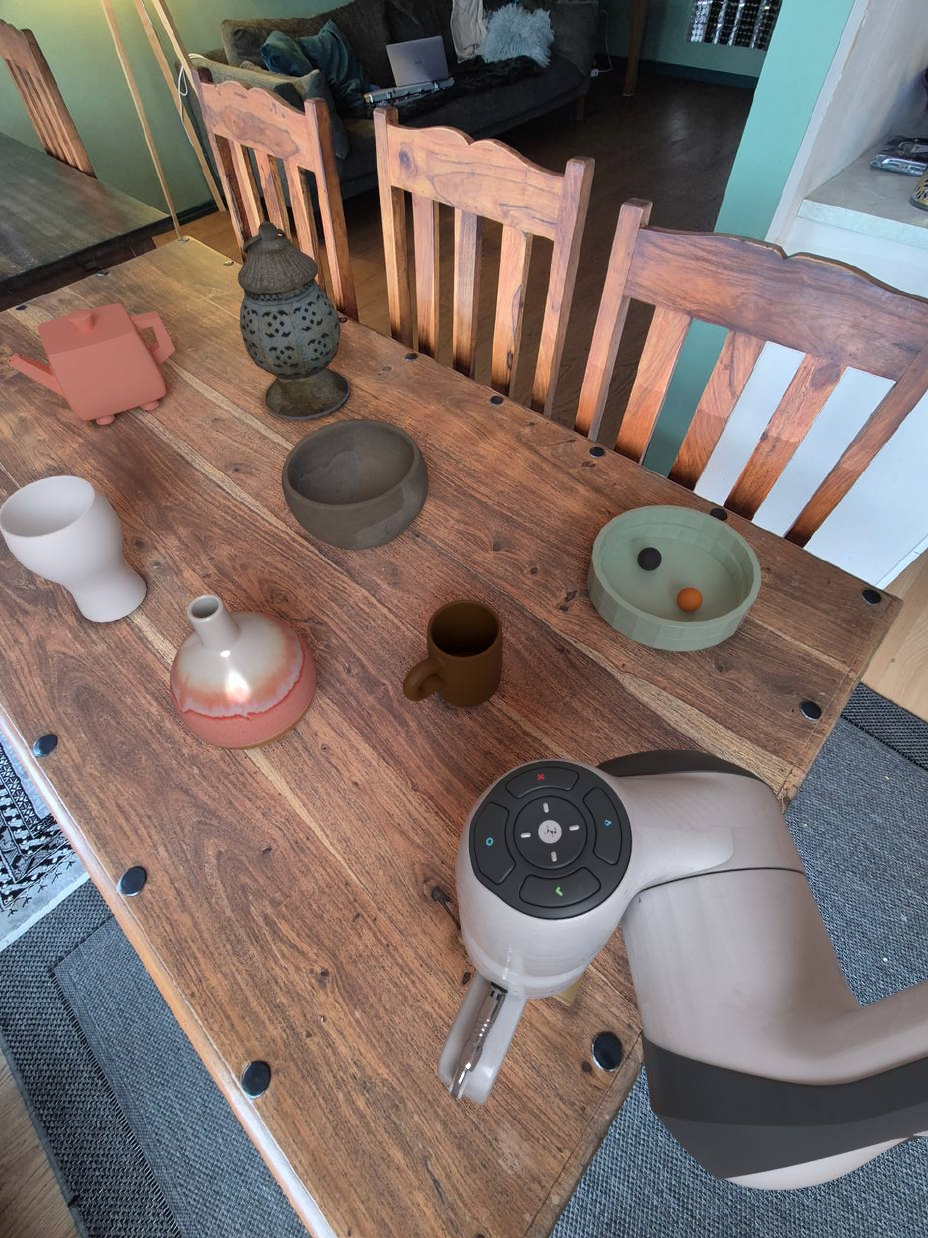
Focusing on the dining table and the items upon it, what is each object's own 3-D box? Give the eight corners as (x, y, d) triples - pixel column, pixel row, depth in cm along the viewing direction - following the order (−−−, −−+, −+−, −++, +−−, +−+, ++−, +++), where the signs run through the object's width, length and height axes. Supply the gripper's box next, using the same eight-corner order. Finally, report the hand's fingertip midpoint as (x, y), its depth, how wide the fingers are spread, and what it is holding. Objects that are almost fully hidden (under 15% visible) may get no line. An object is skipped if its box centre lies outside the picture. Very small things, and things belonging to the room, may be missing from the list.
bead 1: (661, 562, 78) (667, 547, 76) (654, 578, 77) (659, 562, 74) (639, 555, 79) (644, 539, 77) (632, 570, 77) (636, 554, 75)
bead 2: (701, 603, 74) (708, 587, 72) (695, 620, 73) (701, 604, 70) (678, 594, 75) (684, 579, 73) (671, 611, 74) (676, 596, 71)
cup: (72, 574, 80) (0, 481, 68) (160, 557, 81) (104, 463, 69) (62, 641, 74) (-19, 551, 62) (157, 621, 75) (96, 530, 63)
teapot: (54, 446, 96) (-3, 358, 84) (41, 403, 102) (-14, 317, 91) (198, 399, 102) (163, 312, 91) (177, 362, 109) (142, 277, 97)
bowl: (272, 517, 85) (251, 456, 77) (379, 458, 92) (370, 398, 84) (346, 591, 77) (330, 532, 69) (457, 521, 84) (454, 460, 76)
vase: (312, 640, 73) (271, 531, 59) (340, 743, 65) (300, 644, 51) (189, 677, 70) (116, 571, 56) (204, 788, 62) (123, 698, 48)
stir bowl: (761, 563, 78) (776, 534, 74) (723, 679, 69) (738, 653, 65) (617, 516, 84) (623, 487, 80) (562, 617, 74) (567, 589, 70)
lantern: (255, 421, 98) (197, 248, 78) (271, 370, 107) (223, 201, 87) (346, 419, 98) (311, 245, 78) (355, 367, 106) (325, 198, 87)
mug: (437, 752, 64) (430, 706, 57) (386, 706, 68) (374, 657, 60) (515, 678, 69) (519, 626, 62) (465, 638, 73) (463, 585, 65)
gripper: (503, 1132, 34) (498, 1124, 45) (629, 800, 45) (601, 860, 56) (402, 1065, 36) (421, 1073, 47) (546, 762, 47) (534, 827, 58)
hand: (519, 955), depth 51 cm, fingers closed on stick, 2 cm apart
